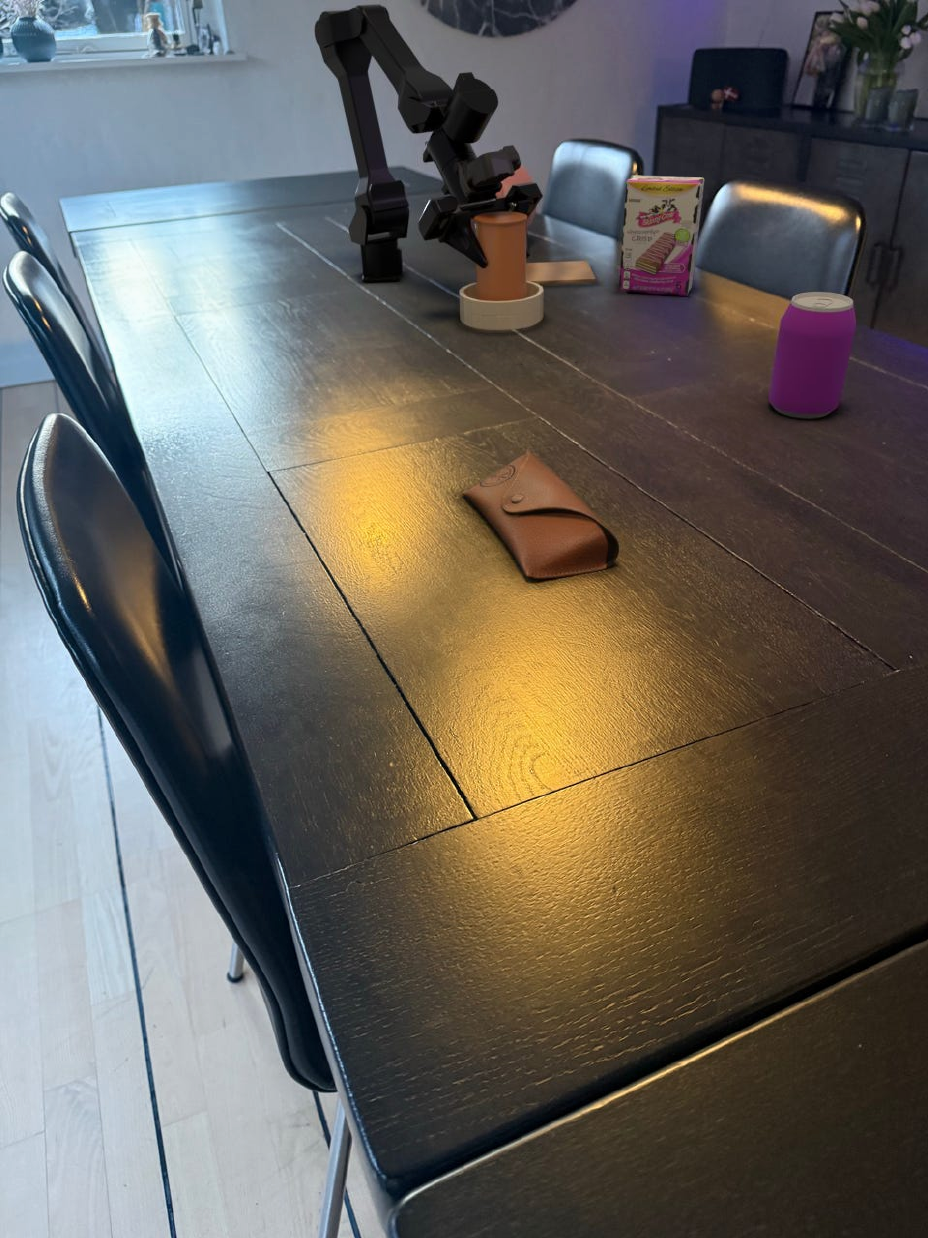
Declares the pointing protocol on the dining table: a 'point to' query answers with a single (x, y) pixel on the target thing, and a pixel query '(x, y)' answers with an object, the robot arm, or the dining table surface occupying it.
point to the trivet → (559, 272)
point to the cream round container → (501, 309)
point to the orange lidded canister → (501, 256)
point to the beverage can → (812, 354)
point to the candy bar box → (660, 234)
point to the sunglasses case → (543, 521)
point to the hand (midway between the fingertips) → (506, 261)
